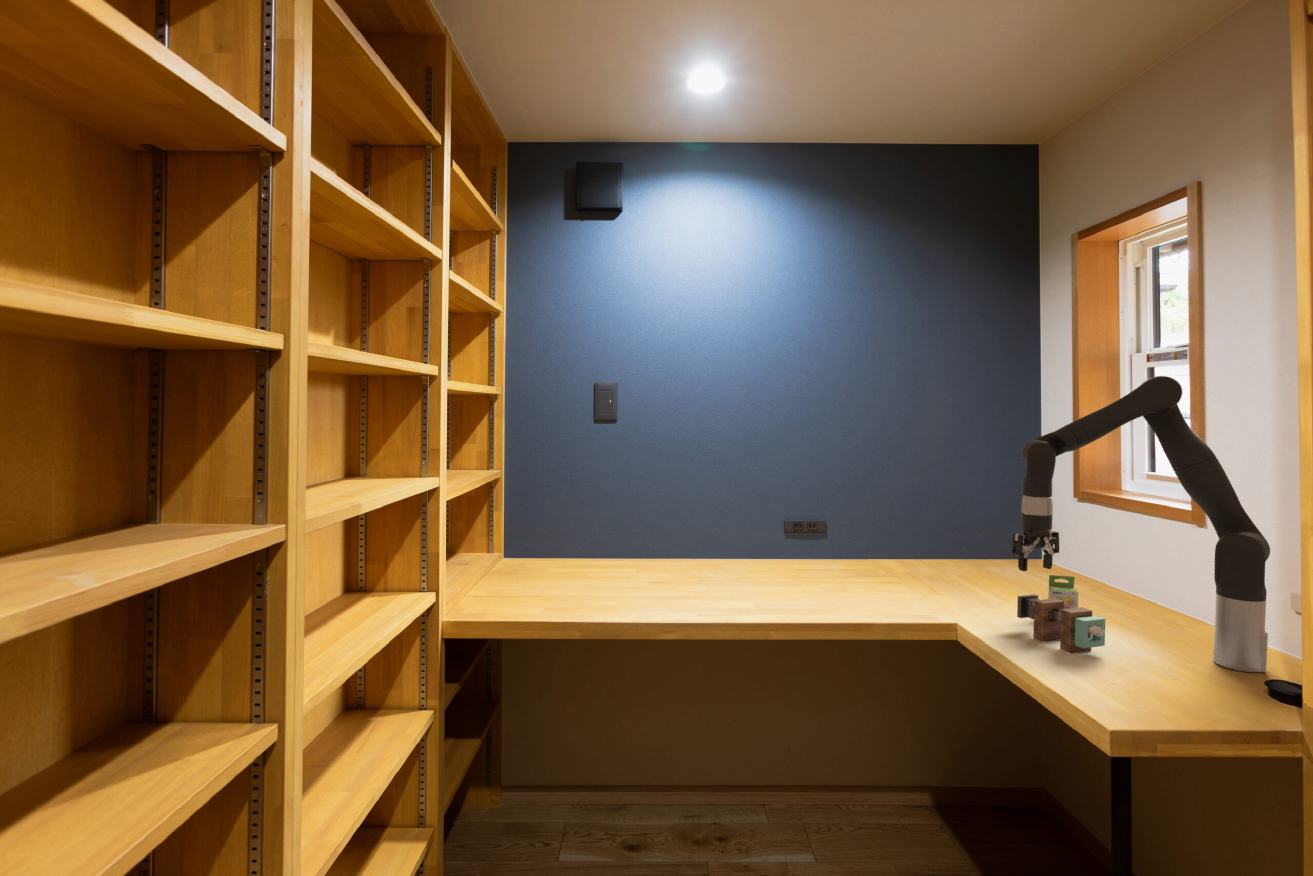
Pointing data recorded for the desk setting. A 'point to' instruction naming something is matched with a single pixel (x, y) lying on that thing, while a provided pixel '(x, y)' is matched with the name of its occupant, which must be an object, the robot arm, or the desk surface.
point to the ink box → (1063, 591)
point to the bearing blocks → (1058, 624)
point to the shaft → (1027, 610)
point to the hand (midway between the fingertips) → (1035, 569)
